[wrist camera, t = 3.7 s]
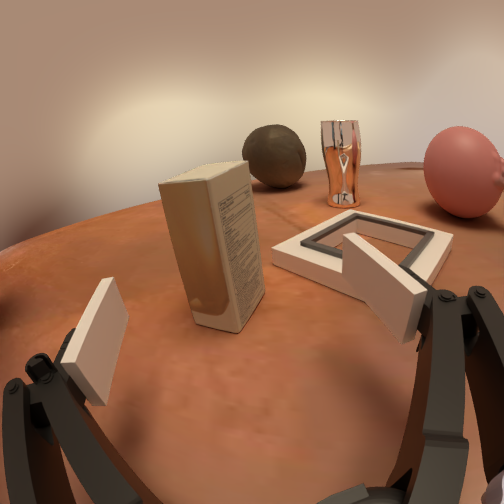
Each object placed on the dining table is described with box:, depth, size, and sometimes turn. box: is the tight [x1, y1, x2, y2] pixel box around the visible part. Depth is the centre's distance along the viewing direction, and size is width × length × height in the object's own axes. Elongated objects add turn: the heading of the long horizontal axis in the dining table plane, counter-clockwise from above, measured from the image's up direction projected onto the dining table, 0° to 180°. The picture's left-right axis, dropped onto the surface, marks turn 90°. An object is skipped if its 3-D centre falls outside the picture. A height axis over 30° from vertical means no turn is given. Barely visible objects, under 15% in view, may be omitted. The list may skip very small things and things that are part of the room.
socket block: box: [271, 209, 453, 302], centre depth 29 cm, size 16×16×2 cm
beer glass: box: [321, 120, 361, 208], centre depth 45 cm, size 7×7×15 cm
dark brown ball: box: [242, 125, 306, 188], centre depth 61 cm, size 14×14×15 cm
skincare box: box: [158, 161, 265, 333], centre depth 22 cm, size 6×4×12 cm
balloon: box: [424, 126, 504, 218], centre depth 32 cm, size 15×20×15 cm
